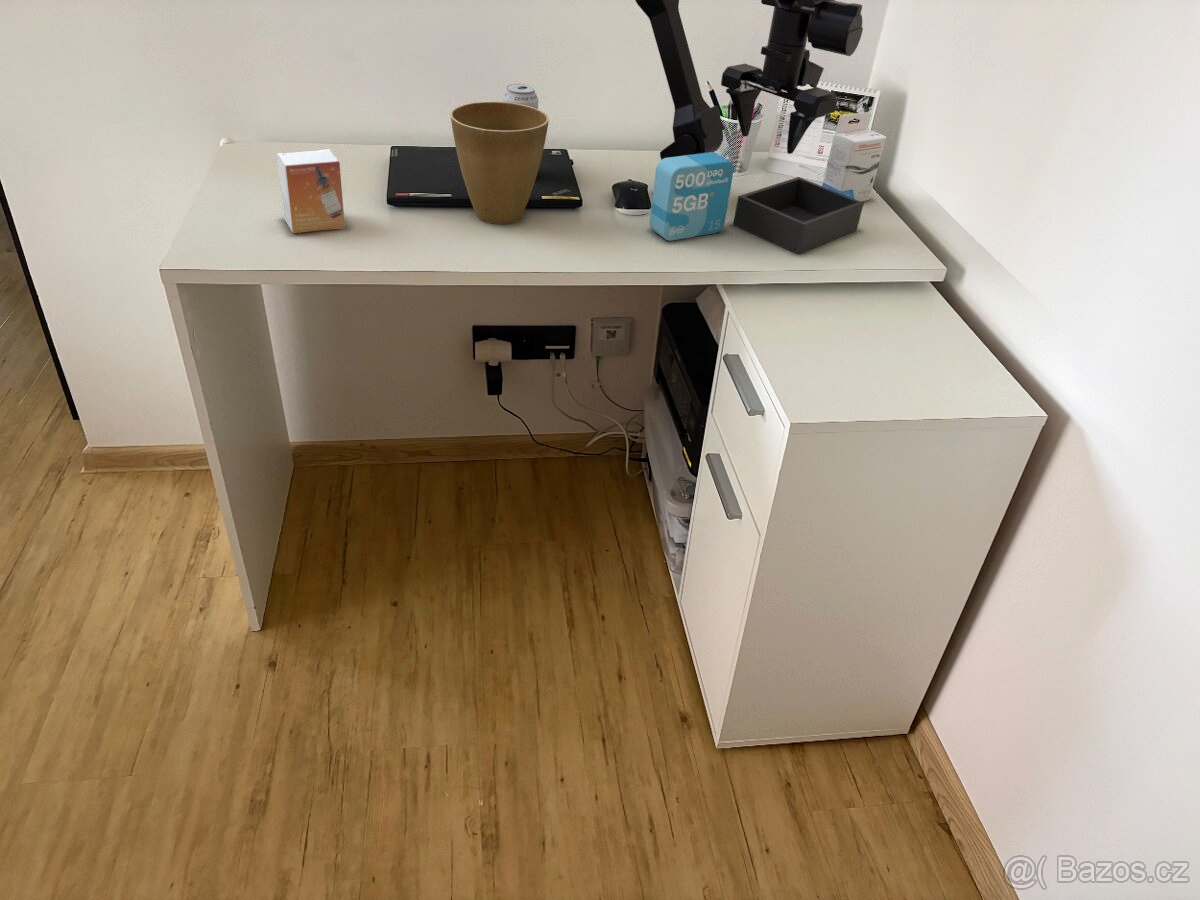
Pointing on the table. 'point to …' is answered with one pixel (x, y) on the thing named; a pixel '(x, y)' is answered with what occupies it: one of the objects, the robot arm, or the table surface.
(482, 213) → the plant pot
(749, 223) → the black box
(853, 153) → the ink box
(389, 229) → the table surface
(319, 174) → the small box
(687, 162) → the data package
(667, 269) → the table surface
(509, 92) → the energy drink can
